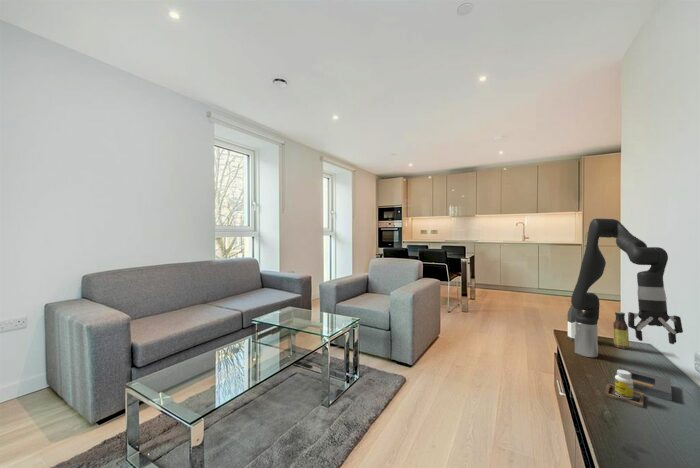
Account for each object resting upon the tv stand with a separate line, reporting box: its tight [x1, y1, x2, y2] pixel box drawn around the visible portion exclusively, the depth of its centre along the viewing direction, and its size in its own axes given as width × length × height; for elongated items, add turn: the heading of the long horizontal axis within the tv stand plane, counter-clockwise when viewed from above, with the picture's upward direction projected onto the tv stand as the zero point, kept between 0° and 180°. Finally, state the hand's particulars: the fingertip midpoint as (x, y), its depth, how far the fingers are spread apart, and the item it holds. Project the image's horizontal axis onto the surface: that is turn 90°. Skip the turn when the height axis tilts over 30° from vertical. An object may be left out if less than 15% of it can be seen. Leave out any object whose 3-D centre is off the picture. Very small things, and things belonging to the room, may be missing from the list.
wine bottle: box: [567, 304, 584, 342], centre depth 175 cm, size 8×8×30 cm
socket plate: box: [616, 366, 673, 402], centre depth 123 cm, size 16×16×3 cm
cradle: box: [603, 383, 645, 408], centre depth 116 cm, size 11×11×1 cm
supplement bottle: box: [614, 369, 634, 400], centre depth 116 cm, size 5×5×10 cm
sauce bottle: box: [612, 311, 630, 350], centre depth 163 cm, size 7×6×20 cm
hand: (655, 342), depth 108 cm, fingers open, 8 cm apart
